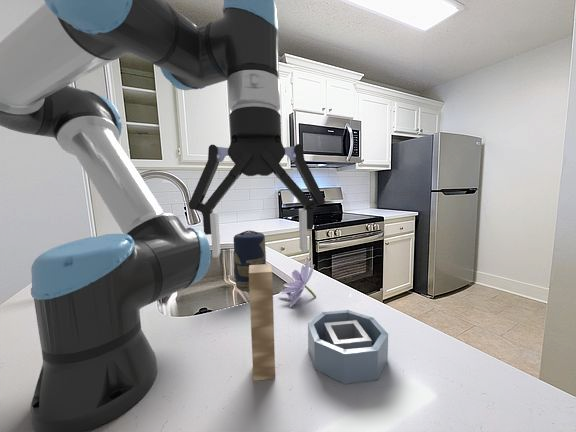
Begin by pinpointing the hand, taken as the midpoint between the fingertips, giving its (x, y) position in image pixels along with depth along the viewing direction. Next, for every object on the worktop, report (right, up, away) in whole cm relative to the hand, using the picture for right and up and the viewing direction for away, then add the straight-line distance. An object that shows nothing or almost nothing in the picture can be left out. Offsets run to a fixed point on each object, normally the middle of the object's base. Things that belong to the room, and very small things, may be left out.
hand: (261, 252), depth 39 cm
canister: (-7, -17, +38) cm, 42 cm away
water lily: (+7, -17, +30) cm, 35 cm away
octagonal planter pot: (+15, -20, +6) cm, 25 cm away
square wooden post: (0, -20, +2) cm, 20 cm away
